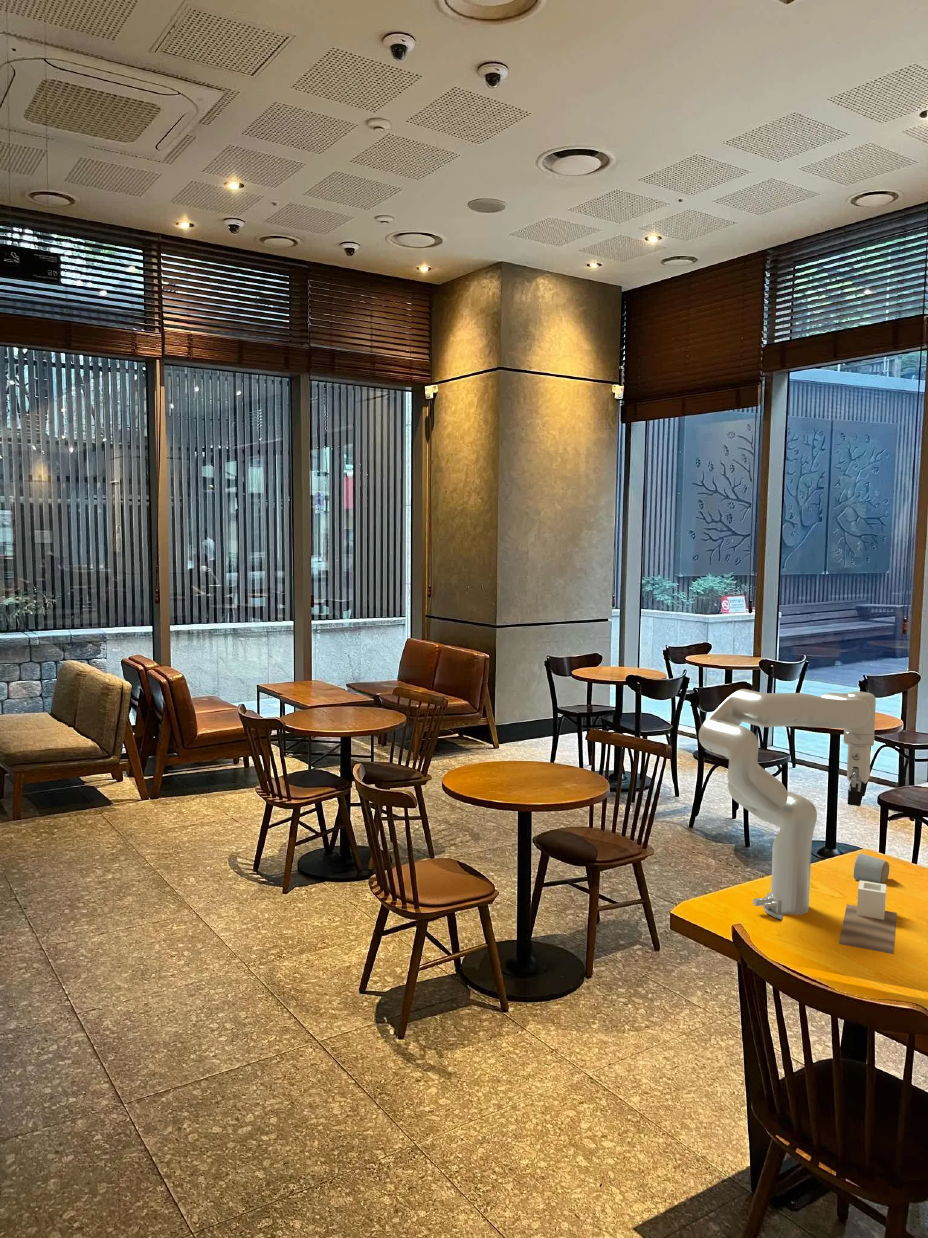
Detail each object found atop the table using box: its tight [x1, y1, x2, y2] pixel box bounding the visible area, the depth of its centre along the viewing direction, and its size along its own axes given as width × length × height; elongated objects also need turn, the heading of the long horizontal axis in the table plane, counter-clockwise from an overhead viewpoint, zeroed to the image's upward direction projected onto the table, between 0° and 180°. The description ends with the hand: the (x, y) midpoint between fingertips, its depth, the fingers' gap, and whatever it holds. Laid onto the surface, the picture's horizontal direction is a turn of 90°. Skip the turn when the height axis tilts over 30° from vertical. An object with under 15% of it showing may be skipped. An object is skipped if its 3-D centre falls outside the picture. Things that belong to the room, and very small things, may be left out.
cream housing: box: [856, 880, 887, 920], centre depth 241 cm, size 6×6×7 cm
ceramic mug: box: [853, 853, 890, 884], centre depth 267 cm, size 11×8×8 cm
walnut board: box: [838, 904, 898, 955], centre depth 233 cm, size 26×12×2 cm, turn 154°
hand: (856, 800), depth 252 cm, fingers open, 9 cm apart
